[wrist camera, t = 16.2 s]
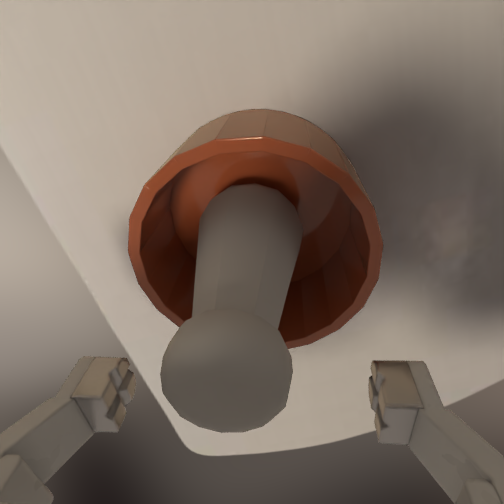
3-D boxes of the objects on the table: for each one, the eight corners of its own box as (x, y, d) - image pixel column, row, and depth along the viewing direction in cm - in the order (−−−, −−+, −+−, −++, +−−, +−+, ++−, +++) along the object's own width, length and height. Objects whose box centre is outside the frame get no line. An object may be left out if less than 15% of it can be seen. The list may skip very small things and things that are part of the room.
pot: (367, 100, 18) (400, 126, 13) (351, 286, 24) (369, 352, 19) (143, 117, 19) (93, 147, 14) (184, 289, 26) (159, 351, 21)
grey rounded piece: (208, 164, 20) (114, 325, 9) (307, 174, 20) (336, 350, 9) (207, 250, 23) (138, 446, 12) (293, 259, 23) (301, 466, 12)
